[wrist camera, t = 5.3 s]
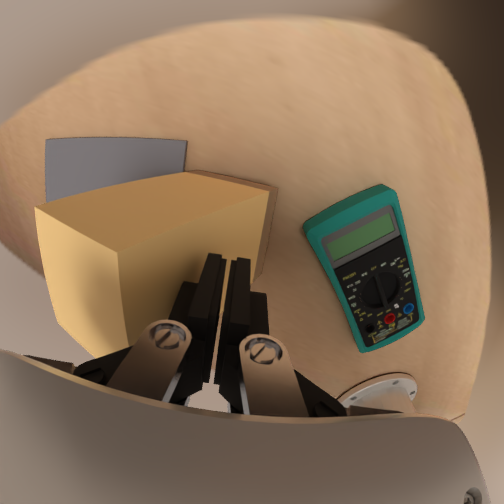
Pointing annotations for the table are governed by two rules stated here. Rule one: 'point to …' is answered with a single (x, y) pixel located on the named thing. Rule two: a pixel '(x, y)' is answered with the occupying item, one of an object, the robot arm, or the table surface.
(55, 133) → the table surface
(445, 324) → the table surface
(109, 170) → the mat
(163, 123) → the table surface
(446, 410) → the table surface
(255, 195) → the ochre block
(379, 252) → the digital multimeter
